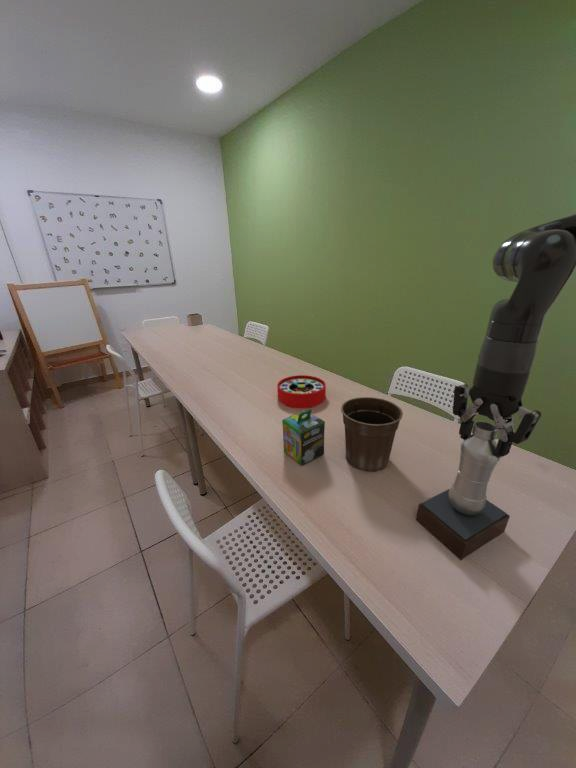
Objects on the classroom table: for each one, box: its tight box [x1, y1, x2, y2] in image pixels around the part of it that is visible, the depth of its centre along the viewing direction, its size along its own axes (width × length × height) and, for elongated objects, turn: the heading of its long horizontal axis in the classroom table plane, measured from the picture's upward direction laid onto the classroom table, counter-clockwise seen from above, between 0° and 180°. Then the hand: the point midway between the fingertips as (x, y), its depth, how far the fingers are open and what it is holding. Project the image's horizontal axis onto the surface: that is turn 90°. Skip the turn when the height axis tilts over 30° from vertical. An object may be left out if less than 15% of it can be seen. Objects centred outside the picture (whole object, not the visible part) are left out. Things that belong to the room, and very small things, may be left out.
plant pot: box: [340, 396, 404, 472], centre depth 85 cm, size 16×16×16 cm
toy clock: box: [277, 374, 327, 409], centre depth 125 cm, size 20×6×20 cm
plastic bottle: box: [449, 420, 501, 515], centre depth 59 cm, size 6×7×20 cm
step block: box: [415, 488, 511, 561], centre depth 64 cm, size 14×11×5 cm
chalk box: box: [281, 408, 326, 466], centre depth 88 cm, size 9×9×15 cm
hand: (481, 446), depth 57 cm, fingers closed on plastic bottle, 6 cm apart
